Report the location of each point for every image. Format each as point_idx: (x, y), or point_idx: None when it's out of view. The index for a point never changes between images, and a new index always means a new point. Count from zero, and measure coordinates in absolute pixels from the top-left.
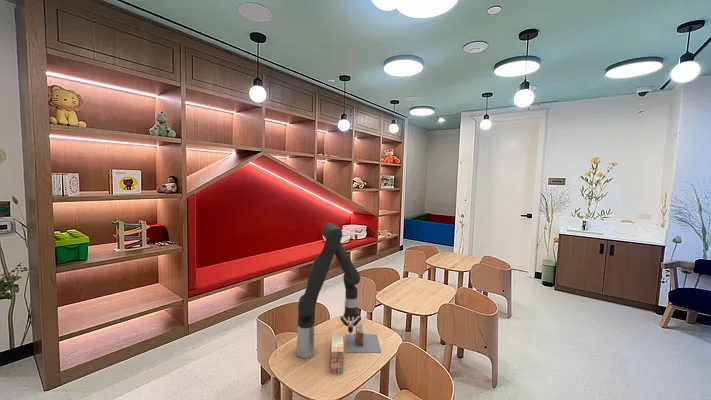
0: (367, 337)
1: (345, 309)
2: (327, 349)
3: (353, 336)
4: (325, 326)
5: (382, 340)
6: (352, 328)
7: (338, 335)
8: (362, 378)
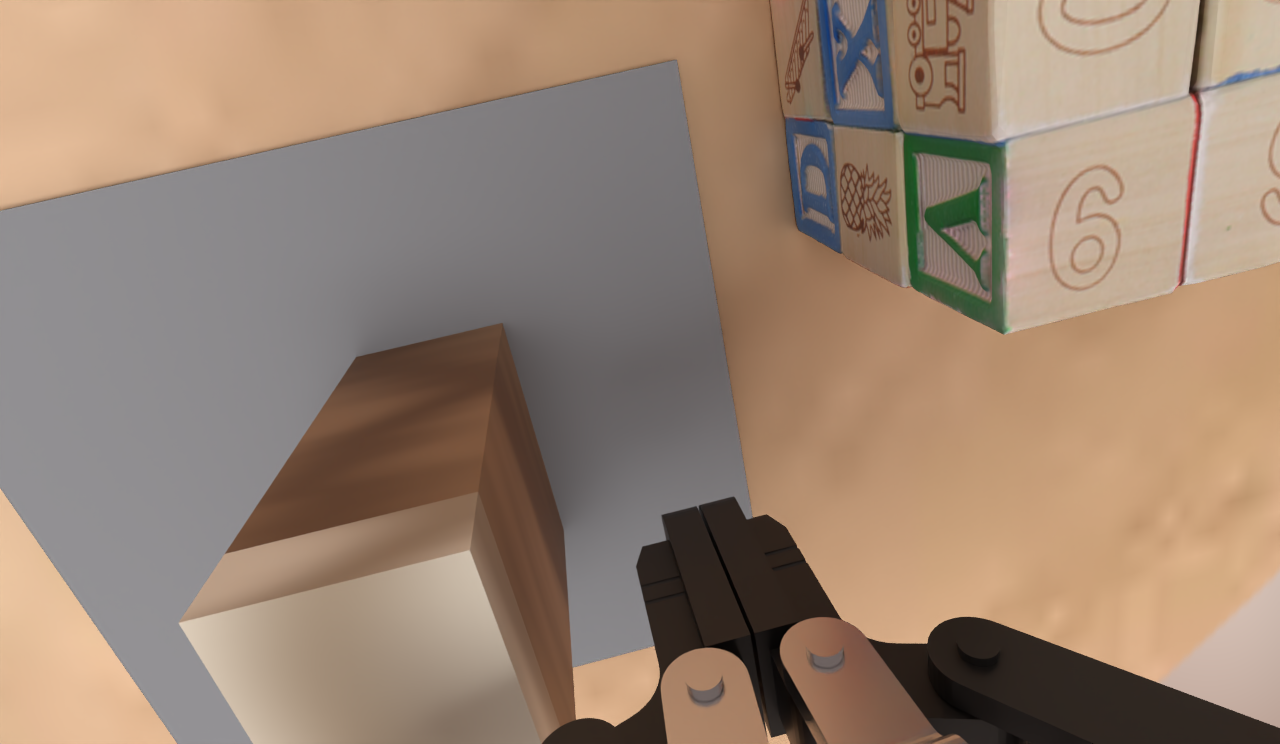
0: None
1: None
2: None
3: (613, 597)
4: None
5: (21, 645)
6: (667, 625)
7: (1138, 144)
8: None
